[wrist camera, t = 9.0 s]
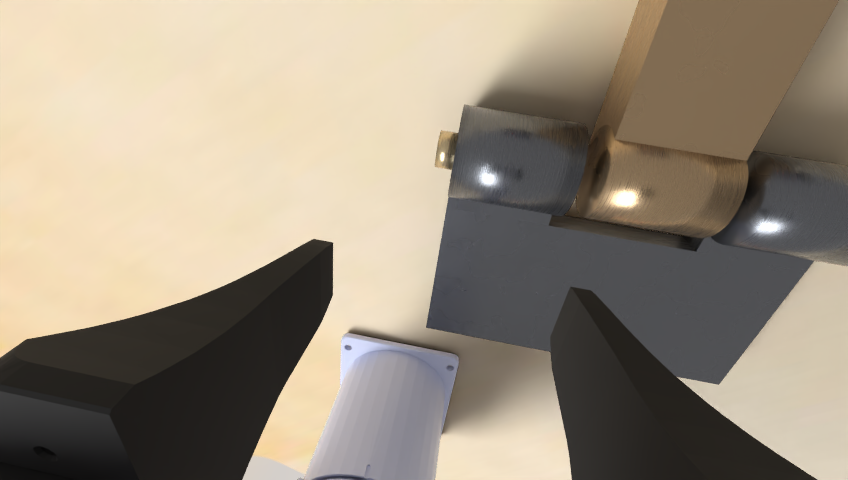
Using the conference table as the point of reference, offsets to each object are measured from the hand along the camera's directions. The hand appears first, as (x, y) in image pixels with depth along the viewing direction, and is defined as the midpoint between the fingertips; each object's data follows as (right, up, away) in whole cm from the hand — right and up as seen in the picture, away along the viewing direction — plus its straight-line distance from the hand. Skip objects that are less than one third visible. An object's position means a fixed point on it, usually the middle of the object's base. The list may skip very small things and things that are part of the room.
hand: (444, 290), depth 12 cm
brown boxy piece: (+10, +8, +5) cm, 14 cm away
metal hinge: (+9, +1, +9) cm, 13 cm away
